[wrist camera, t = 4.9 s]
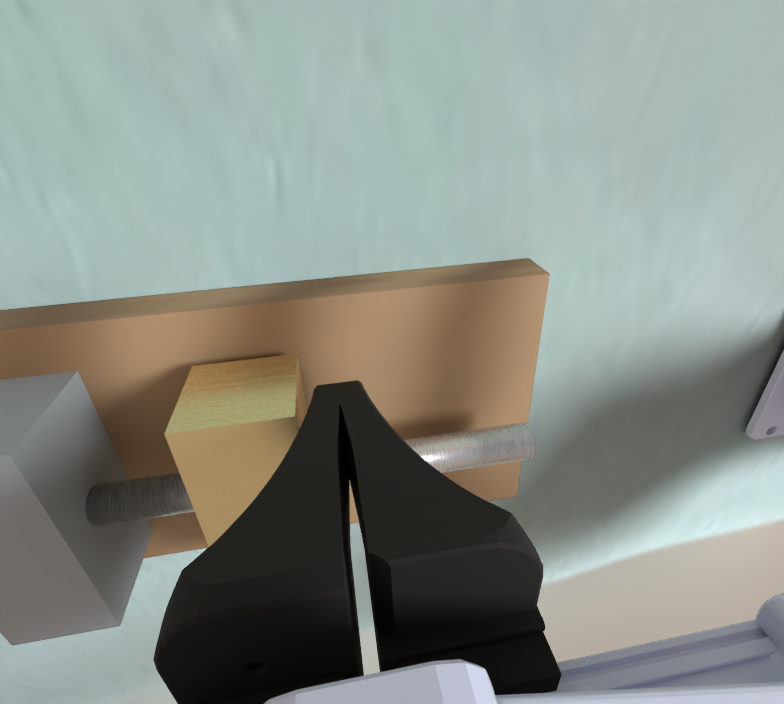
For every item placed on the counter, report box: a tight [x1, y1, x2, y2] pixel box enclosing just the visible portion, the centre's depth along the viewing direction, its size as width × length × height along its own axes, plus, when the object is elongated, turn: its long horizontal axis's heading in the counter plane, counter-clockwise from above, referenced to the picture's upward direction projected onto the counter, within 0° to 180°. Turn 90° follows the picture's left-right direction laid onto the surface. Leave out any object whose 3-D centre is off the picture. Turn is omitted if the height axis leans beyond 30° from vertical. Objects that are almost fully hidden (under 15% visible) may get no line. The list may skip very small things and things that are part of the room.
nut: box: [164, 354, 307, 547], centre depth 14 cm, size 3×7×3 cm, turn 2°
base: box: [0, 259, 550, 645], centre depth 15 cm, size 18×10×5 cm, turn 92°
